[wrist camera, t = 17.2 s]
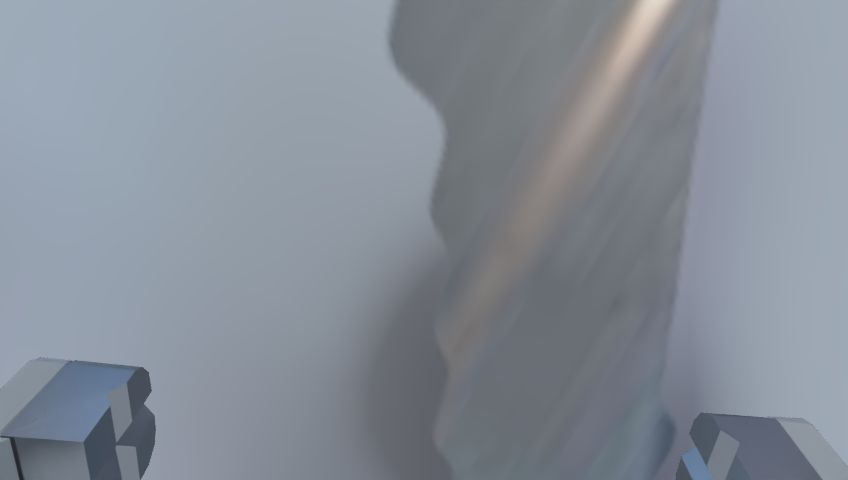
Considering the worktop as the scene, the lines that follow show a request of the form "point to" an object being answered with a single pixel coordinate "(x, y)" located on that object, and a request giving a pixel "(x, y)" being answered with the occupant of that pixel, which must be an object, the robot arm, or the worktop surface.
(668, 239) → the worktop surface
